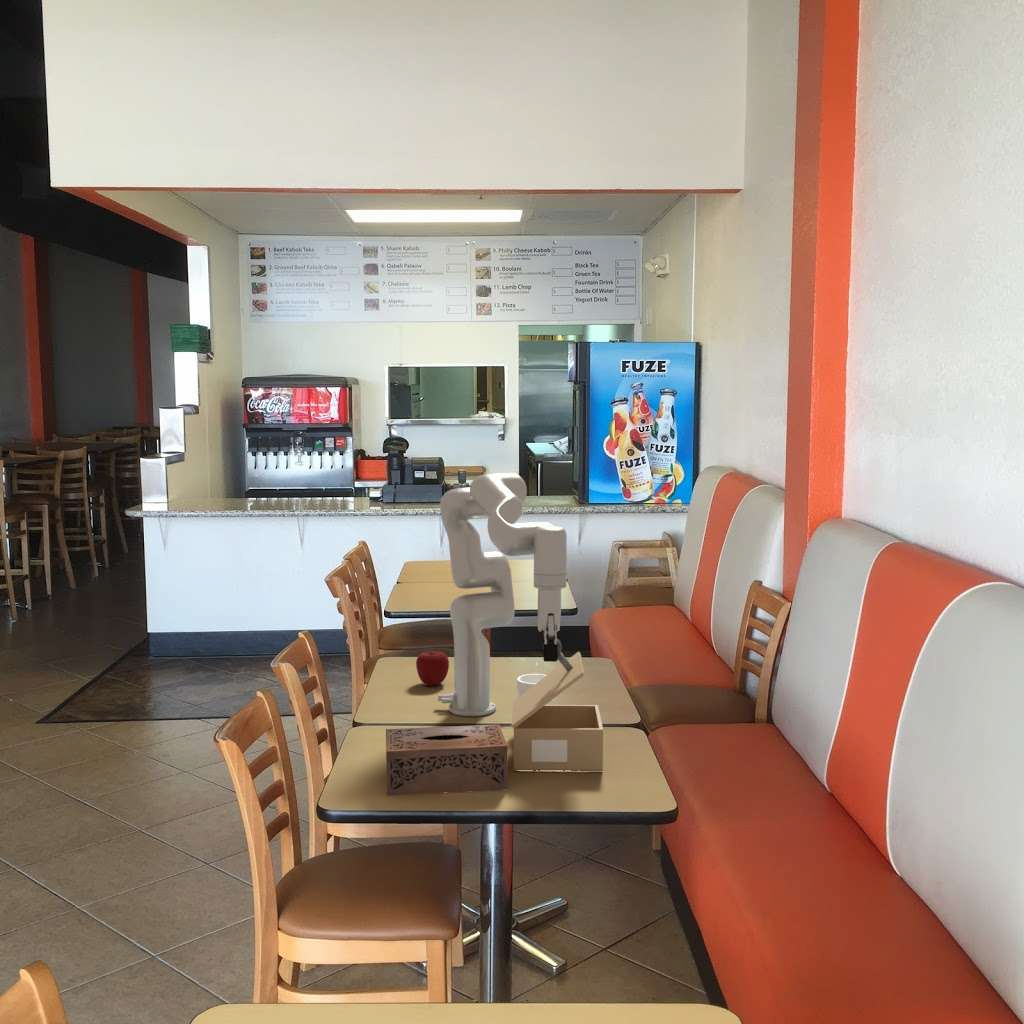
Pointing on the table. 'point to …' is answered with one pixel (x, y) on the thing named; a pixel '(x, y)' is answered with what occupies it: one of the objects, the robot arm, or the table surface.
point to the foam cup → (529, 682)
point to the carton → (560, 739)
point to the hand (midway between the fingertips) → (550, 657)
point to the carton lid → (548, 687)
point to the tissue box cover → (445, 759)
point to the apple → (432, 667)
